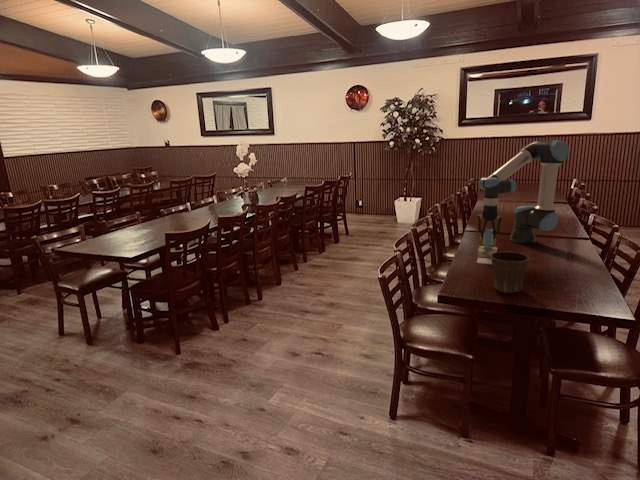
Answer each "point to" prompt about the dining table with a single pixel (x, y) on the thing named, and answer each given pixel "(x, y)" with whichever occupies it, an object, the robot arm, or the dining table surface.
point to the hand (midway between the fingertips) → (487, 244)
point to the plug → (488, 239)
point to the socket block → (486, 252)
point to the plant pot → (508, 271)
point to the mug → (483, 244)
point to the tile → (484, 261)
